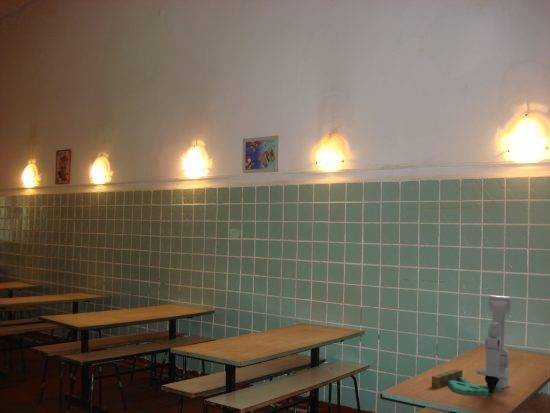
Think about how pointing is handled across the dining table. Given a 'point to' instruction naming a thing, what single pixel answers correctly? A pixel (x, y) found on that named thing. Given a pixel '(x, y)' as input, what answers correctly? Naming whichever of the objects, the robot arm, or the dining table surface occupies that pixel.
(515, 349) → the dining table surface
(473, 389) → the alien figure
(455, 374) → the walnut board
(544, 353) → the dining table surface
